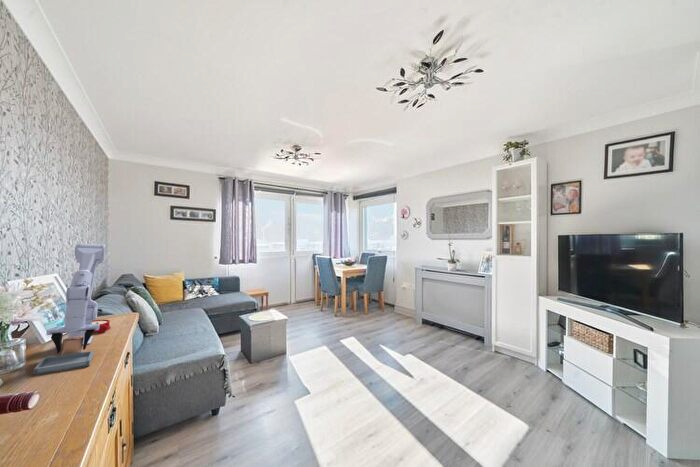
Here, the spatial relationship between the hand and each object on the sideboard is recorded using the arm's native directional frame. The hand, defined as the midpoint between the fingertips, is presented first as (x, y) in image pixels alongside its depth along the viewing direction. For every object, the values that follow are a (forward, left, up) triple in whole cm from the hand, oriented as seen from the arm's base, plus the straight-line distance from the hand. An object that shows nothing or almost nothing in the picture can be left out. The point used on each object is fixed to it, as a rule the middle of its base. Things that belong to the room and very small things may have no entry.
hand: (71, 350), depth 105 cm
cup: (0, 0, -2) cm, 2 cm away
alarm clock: (-31, +4, -2) cm, 31 cm away
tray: (+9, 0, -2) cm, 10 cm away
